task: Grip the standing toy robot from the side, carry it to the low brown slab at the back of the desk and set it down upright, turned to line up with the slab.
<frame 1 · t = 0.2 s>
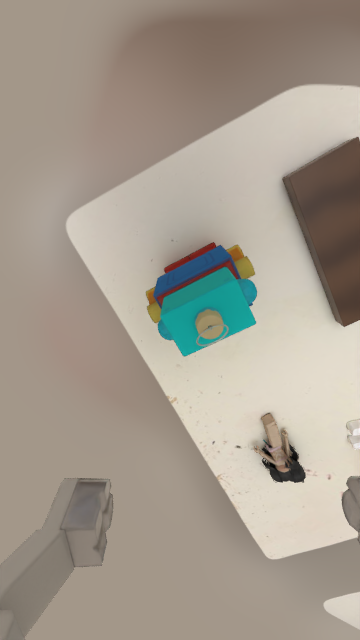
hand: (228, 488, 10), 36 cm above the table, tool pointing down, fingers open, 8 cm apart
brown slab: (340, 241, 41), on the table
toy figure: (272, 442, 57), on the table
toy robot: (195, 268, 43), on the table
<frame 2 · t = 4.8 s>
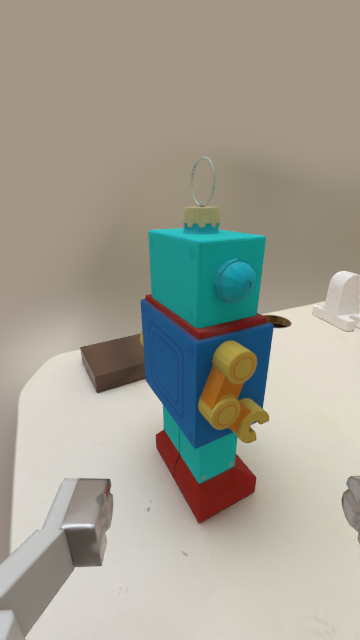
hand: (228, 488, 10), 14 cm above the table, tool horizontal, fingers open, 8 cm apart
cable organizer: (337, 321, 58), on the table
brown slab: (165, 354, 45), on the table
toy robot: (198, 471, 26), on the table
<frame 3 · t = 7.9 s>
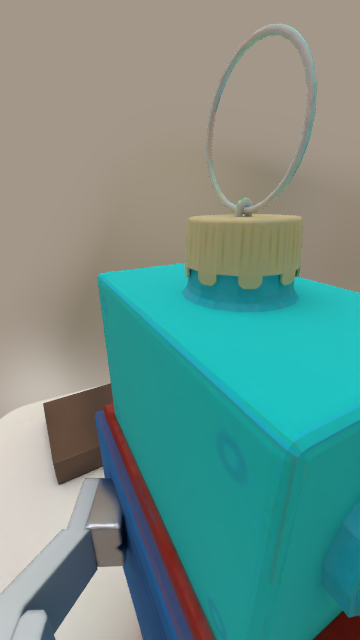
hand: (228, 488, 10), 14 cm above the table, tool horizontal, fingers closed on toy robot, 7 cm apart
brown slab: (160, 409, 34), on the table
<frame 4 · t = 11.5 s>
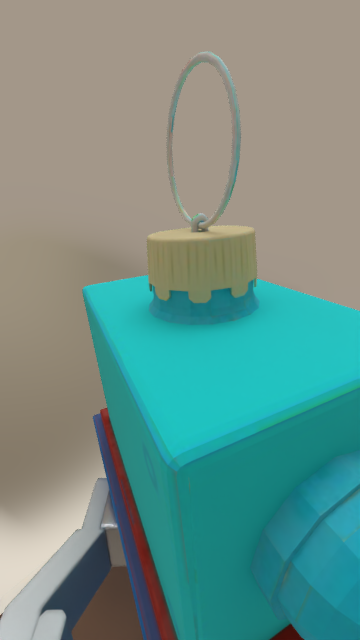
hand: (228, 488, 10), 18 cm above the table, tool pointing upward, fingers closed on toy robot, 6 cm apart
when the fingers open (16 cm above the table, at t = 15.0 s): toy robot stays where it is, resting on brown slab.
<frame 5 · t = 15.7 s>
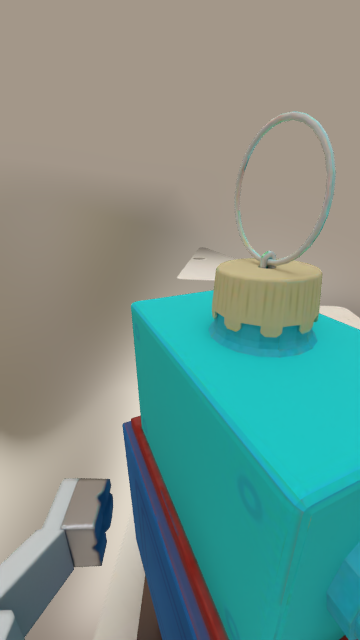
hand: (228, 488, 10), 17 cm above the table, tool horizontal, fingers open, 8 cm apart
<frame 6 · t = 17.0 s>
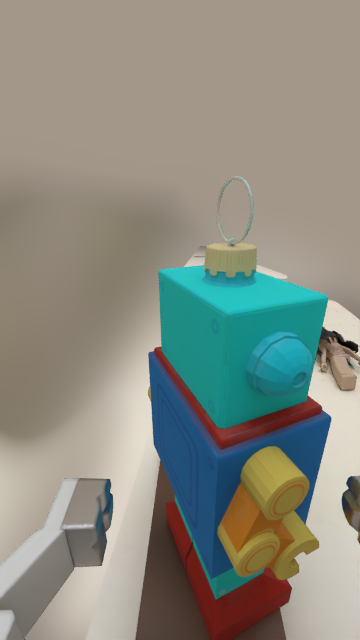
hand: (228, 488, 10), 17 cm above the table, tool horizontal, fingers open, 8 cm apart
brown slab: (207, 577, 22), on the table
toy figure: (334, 366, 50), on the table
toy robot: (216, 559, 21), point 2 cm above the table, touching brown slab
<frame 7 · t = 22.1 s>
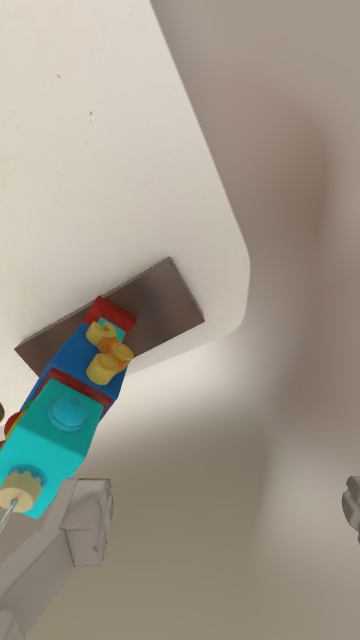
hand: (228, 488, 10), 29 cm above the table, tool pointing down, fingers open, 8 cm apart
brown slab: (111, 327, 39), on the table
toy robot: (104, 331, 37), point 2 cm above the table, touching brown slab
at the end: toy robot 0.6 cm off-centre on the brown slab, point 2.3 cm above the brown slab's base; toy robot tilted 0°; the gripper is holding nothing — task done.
